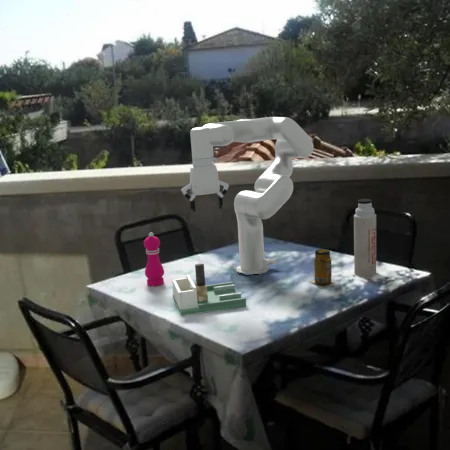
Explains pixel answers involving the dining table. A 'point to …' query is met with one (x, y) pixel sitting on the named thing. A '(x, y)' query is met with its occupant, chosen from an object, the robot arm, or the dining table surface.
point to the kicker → (201, 283)
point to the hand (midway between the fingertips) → (206, 209)
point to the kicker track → (225, 289)
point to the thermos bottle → (365, 239)
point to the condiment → (323, 269)
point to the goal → (185, 293)
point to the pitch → (214, 301)
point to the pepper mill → (153, 261)
